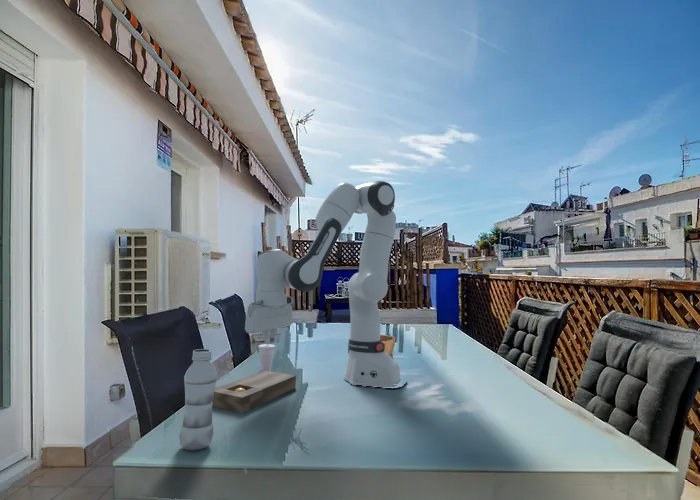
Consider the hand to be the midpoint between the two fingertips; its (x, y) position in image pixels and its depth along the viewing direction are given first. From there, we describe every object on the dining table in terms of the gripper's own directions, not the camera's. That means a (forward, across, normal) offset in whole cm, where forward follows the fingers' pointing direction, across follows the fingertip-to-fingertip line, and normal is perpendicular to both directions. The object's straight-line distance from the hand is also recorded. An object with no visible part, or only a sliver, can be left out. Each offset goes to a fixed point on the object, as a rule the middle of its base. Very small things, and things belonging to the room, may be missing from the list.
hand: (269, 343), depth 119 cm
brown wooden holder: (+15, -6, +1) cm, 16 cm away
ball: (+12, -13, +1) cm, 18 cm away
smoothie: (+15, +19, +16) cm, 29 cm away
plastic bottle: (+14, -39, -10) cm, 43 cm away
